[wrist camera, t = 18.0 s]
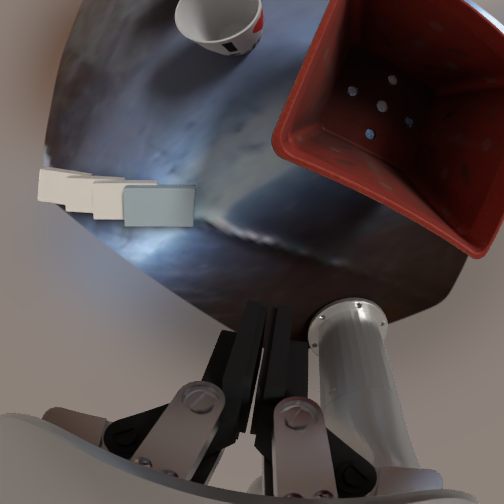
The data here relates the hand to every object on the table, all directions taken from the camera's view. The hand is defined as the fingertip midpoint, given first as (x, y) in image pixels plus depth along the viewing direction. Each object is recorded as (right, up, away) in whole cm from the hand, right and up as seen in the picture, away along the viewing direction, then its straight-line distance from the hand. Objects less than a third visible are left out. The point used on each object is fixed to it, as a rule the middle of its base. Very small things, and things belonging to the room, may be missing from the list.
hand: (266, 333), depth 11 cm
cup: (-2, +29, +16) cm, 33 cm away
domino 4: (-8, +9, +25) cm, 28 cm away
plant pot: (+15, +20, +17) cm, 31 cm away
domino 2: (-19, +11, +26) cm, 34 cm away
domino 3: (-13, +10, +25) cm, 30 cm away
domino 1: (-25, +12, +26) cm, 38 cm away
